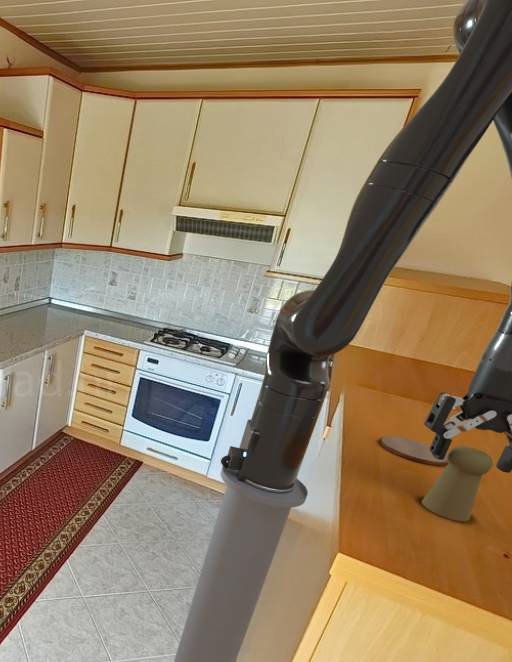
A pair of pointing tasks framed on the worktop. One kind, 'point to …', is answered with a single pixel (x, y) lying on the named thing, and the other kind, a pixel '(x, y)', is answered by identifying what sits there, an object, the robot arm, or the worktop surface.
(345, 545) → the worktop surface
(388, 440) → the disc
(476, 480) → the cork
